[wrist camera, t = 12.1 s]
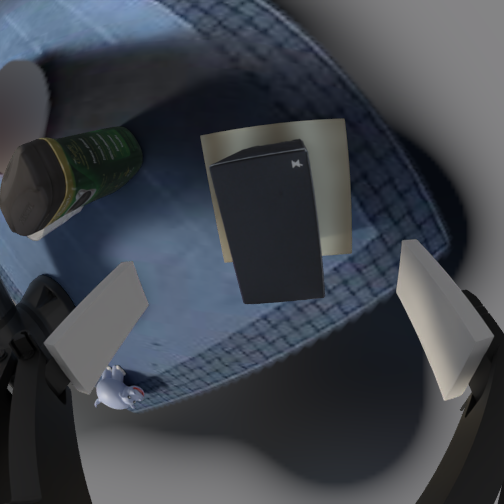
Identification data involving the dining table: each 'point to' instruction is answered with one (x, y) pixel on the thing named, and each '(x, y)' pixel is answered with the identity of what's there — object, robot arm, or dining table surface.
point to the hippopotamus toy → (117, 390)
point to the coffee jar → (65, 175)
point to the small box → (271, 222)
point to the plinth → (322, 167)
